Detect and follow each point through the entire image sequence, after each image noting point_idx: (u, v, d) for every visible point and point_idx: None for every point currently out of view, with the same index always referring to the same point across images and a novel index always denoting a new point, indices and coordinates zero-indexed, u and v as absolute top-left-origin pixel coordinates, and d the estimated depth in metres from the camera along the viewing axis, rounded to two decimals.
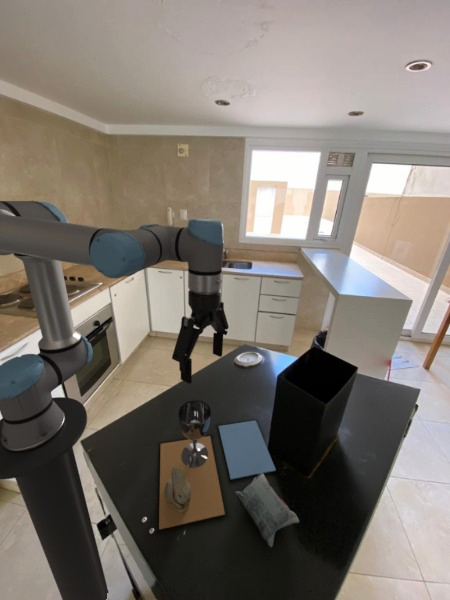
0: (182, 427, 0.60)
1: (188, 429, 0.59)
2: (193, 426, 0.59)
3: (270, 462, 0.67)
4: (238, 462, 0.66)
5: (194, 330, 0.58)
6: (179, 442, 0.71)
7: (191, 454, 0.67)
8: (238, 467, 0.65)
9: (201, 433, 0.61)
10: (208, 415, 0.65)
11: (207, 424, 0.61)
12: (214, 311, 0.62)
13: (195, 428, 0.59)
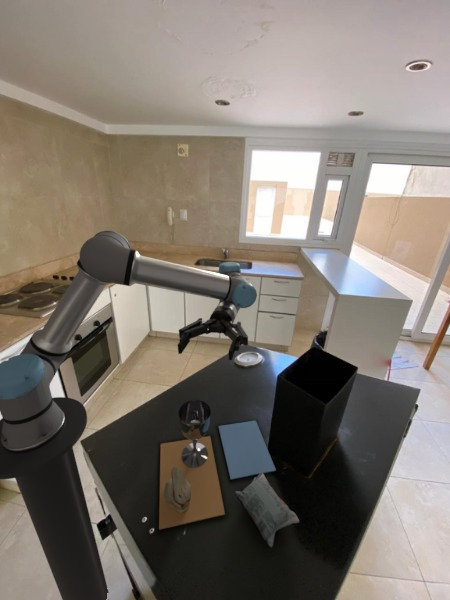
0: (182, 427, 0.60)
1: (188, 429, 0.59)
2: (193, 426, 0.59)
3: (270, 462, 0.67)
4: (238, 462, 0.66)
5: None
6: (179, 442, 0.71)
7: (191, 454, 0.67)
8: (238, 467, 0.65)
9: (201, 433, 0.61)
10: (208, 415, 0.65)
11: (207, 424, 0.61)
12: None
13: (195, 427, 0.59)
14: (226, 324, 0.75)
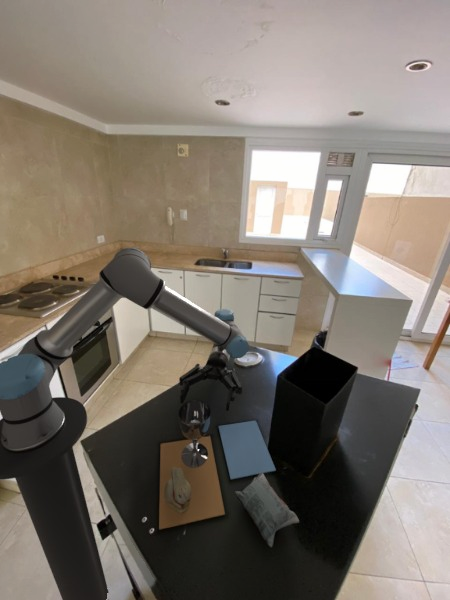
0: (182, 427, 0.60)
1: (188, 429, 0.59)
2: (193, 426, 0.59)
3: (270, 462, 0.67)
4: (238, 462, 0.66)
5: None
6: (179, 442, 0.71)
7: (191, 454, 0.67)
8: (238, 467, 0.65)
9: (201, 433, 0.61)
10: (208, 415, 0.65)
11: (207, 424, 0.61)
12: None
13: (195, 427, 0.59)
14: (222, 372, 0.83)
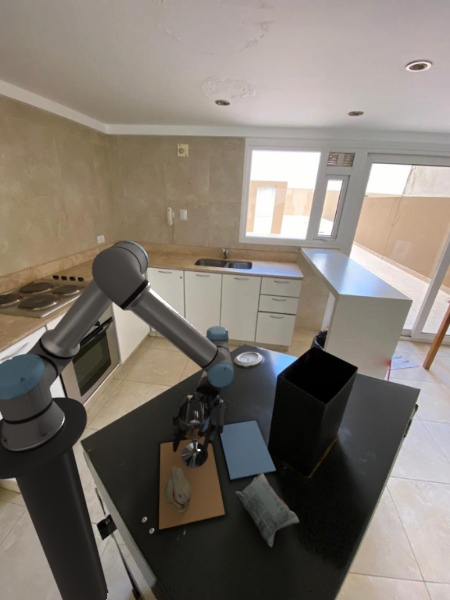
0: (182, 427, 0.60)
1: (188, 429, 0.59)
2: (193, 426, 0.59)
3: (270, 462, 0.67)
4: (238, 462, 0.66)
5: None
6: None
7: (191, 454, 0.67)
8: (238, 467, 0.65)
9: (201, 433, 0.61)
10: (208, 415, 0.65)
11: (207, 424, 0.61)
12: None
13: (195, 427, 0.59)
14: (210, 402, 0.72)
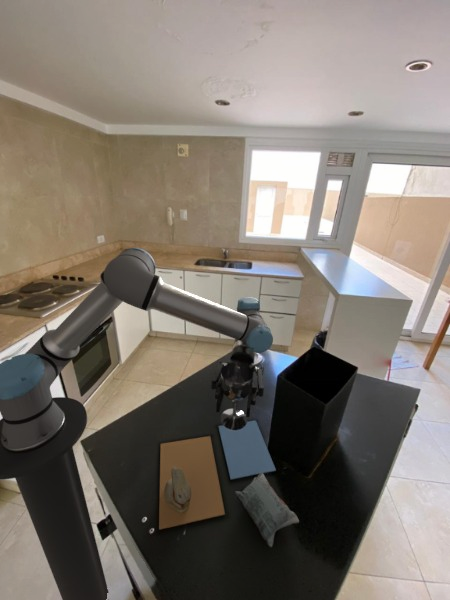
0: (226, 386, 0.59)
1: (233, 388, 0.59)
2: (238, 384, 0.58)
3: (270, 462, 0.67)
4: (238, 462, 0.66)
5: None
6: (179, 442, 0.71)
7: (231, 418, 0.66)
8: (238, 467, 0.65)
9: (245, 393, 0.60)
10: (249, 377, 0.64)
11: (250, 384, 0.60)
12: None
13: (239, 386, 0.58)
14: None
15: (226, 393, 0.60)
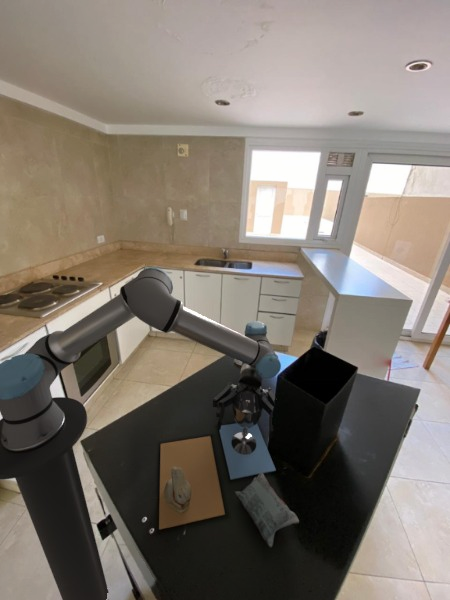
0: (237, 416, 0.64)
1: (244, 417, 0.63)
2: (249, 414, 0.63)
3: (270, 462, 0.67)
4: (238, 462, 0.66)
5: None
6: (179, 442, 0.71)
7: (241, 442, 0.71)
8: (238, 467, 0.65)
9: (255, 421, 0.64)
10: (258, 405, 0.69)
11: (260, 413, 0.65)
12: None
13: (250, 416, 0.63)
14: (258, 392, 0.76)
15: (238, 421, 0.65)
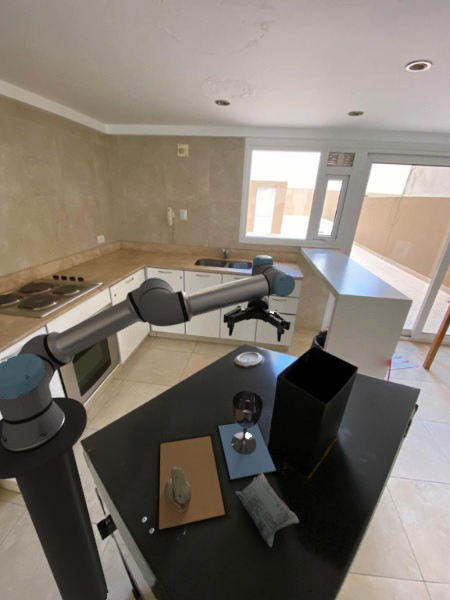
0: (237, 416, 0.64)
1: (244, 417, 0.63)
2: (249, 414, 0.63)
3: (270, 462, 0.67)
4: (238, 462, 0.66)
5: None
6: (179, 442, 0.71)
7: (241, 442, 0.71)
8: (238, 467, 0.65)
9: (255, 421, 0.64)
10: (258, 405, 0.69)
11: (260, 413, 0.65)
12: None
13: (250, 416, 0.63)
14: (266, 311, 0.81)
15: (238, 421, 0.65)
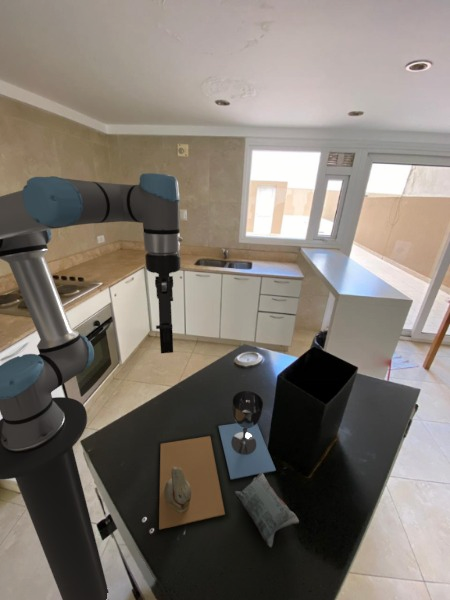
0: (237, 416, 0.64)
1: (244, 417, 0.63)
2: (249, 414, 0.63)
3: (270, 462, 0.67)
4: (238, 462, 0.66)
5: None
6: (179, 442, 0.71)
7: (241, 442, 0.71)
8: (238, 467, 0.65)
9: (255, 421, 0.64)
10: (258, 405, 0.69)
11: (260, 413, 0.65)
12: None
13: (250, 416, 0.63)
14: None
15: (238, 421, 0.65)
